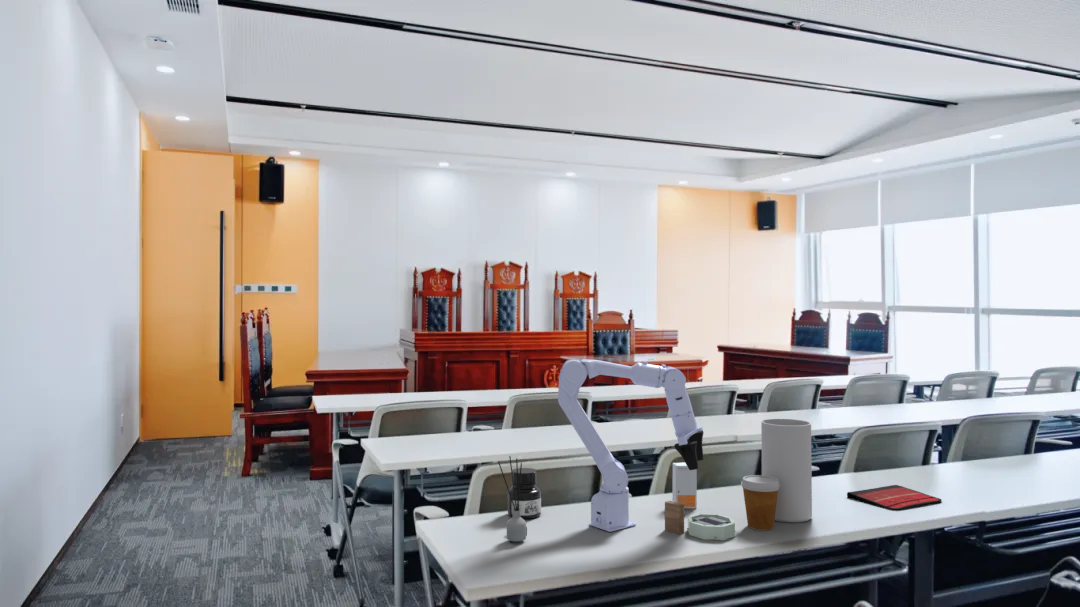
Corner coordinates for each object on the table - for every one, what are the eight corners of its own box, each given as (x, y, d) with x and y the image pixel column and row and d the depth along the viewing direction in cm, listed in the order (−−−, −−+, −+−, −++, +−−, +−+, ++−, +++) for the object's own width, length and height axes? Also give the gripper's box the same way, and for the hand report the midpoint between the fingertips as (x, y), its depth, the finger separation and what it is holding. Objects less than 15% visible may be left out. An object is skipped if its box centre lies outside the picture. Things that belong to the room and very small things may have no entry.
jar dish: (714, 543, 166) (714, 529, 166) (678, 531, 175) (678, 518, 175) (743, 534, 173) (743, 520, 173) (707, 523, 182) (707, 511, 182)
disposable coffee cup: (744, 531, 175) (743, 483, 175) (738, 520, 184) (738, 474, 185) (784, 533, 174) (783, 484, 174) (776, 521, 183) (776, 475, 183)
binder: (846, 491, 206) (895, 483, 216) (846, 499, 206) (895, 491, 216) (895, 507, 192) (945, 498, 201) (895, 515, 192) (945, 506, 201)
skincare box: (675, 509, 195) (675, 465, 195) (672, 504, 199) (672, 462, 200) (697, 508, 195) (697, 465, 195) (693, 504, 200) (693, 462, 200)
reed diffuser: (532, 545, 165) (532, 460, 165) (504, 549, 162) (504, 462, 163) (518, 533, 174) (518, 452, 175) (491, 536, 172) (491, 454, 172)
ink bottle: (512, 521, 184) (512, 475, 184) (501, 513, 192) (501, 468, 192) (547, 517, 188) (547, 472, 188) (535, 509, 196) (534, 465, 196)
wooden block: (678, 534, 173) (678, 505, 173) (664, 529, 177) (664, 501, 177) (684, 532, 174) (684, 504, 174) (670, 528, 178) (670, 500, 178)
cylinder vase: (822, 519, 185) (821, 423, 185) (787, 526, 179) (786, 427, 180) (786, 507, 196) (785, 417, 196) (752, 513, 190) (751, 420, 191)
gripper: (691, 417, 172) (707, 470, 172) (702, 403, 186) (716, 453, 185) (664, 422, 175) (679, 475, 175) (676, 409, 189) (690, 458, 188)
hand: (696, 464), depth 180 cm, fingers open, 7 cm apart
